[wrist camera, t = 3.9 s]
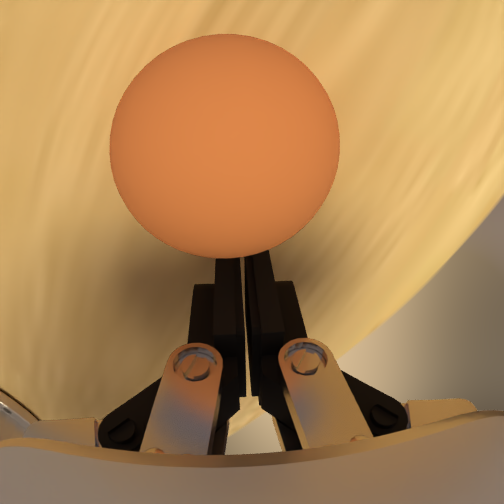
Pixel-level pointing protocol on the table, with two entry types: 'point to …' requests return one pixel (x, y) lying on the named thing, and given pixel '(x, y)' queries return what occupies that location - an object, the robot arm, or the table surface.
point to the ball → (224, 146)
